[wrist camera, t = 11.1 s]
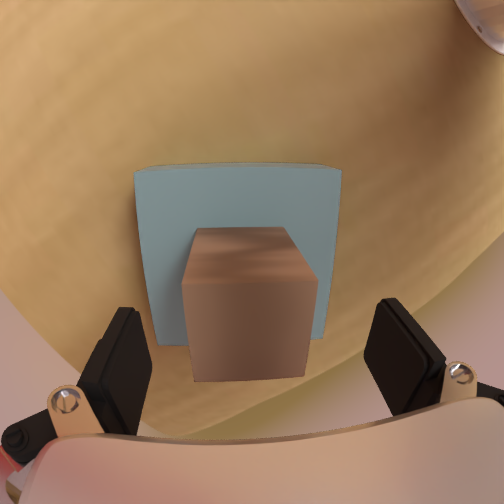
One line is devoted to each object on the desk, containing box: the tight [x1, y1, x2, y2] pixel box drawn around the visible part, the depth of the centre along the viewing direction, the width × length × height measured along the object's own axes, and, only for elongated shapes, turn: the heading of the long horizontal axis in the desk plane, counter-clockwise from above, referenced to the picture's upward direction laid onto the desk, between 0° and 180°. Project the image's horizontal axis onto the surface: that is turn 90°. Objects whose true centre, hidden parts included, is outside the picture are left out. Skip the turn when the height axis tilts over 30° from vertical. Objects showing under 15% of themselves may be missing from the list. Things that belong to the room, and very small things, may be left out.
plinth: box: [134, 162, 342, 346], centre depth 20 cm, size 12×12×4 cm
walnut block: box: [181, 227, 319, 382], centre depth 15 cm, size 5×5×7 cm
